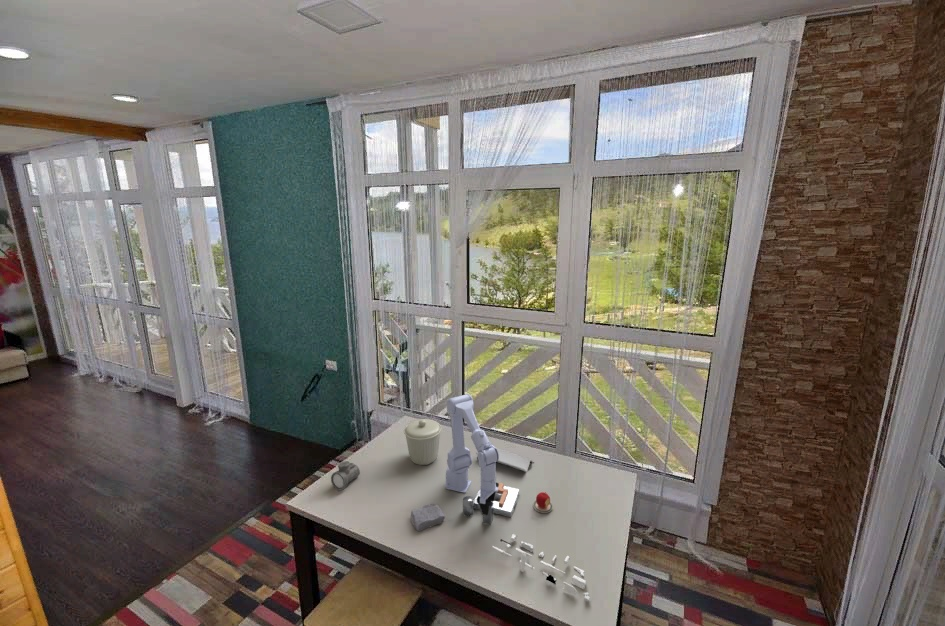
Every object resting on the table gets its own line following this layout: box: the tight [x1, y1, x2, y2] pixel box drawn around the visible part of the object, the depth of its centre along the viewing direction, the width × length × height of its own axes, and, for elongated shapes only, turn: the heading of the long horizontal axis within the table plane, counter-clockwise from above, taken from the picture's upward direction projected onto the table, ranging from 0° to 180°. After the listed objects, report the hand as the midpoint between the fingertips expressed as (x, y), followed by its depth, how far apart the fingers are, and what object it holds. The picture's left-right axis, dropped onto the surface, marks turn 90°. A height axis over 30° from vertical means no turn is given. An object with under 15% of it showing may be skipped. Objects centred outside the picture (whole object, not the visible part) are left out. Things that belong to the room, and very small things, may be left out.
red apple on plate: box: [532, 491, 554, 514], centre depth 167 cm, size 8×8×6 cm
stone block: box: [410, 503, 446, 532], centre depth 162 cm, size 12×5×10 cm
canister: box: [403, 418, 442, 466], centre depth 198 cm, size 18×18×21 cm
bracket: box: [498, 482, 508, 506], centre depth 171 cm, size 8×12×1 cm, turn 161°
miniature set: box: [491, 532, 591, 602], centre depth 140 cm, size 6×35×12 cm
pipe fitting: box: [330, 460, 361, 491], centre depth 183 cm, size 12×8×10 cm
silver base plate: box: [474, 485, 520, 518], centre depth 171 cm, size 16×14×2 cm
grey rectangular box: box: [482, 502, 494, 526], centre depth 159 cm, size 3×3×8 cm
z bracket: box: [475, 447, 535, 473], centre depth 197 cm, size 12×25×6 cm
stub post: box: [462, 495, 475, 517], centre depth 164 cm, size 4×4×6 cm
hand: (488, 507), depth 159 cm, fingers open, 7 cm apart
